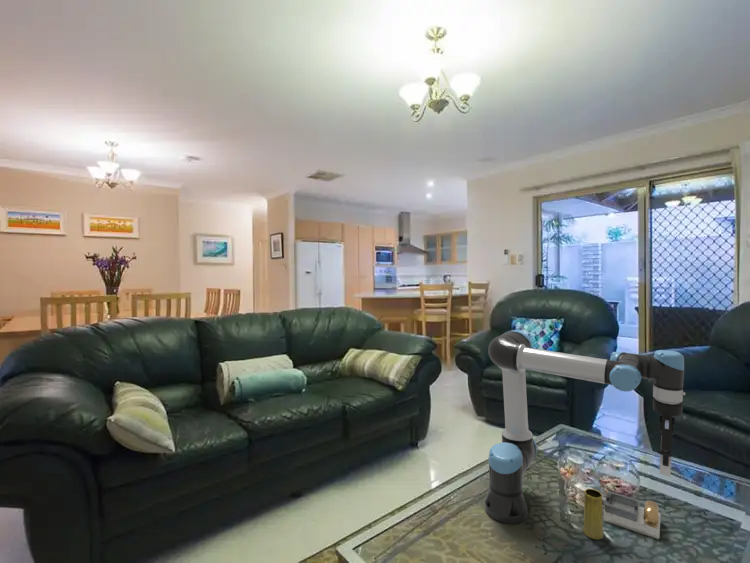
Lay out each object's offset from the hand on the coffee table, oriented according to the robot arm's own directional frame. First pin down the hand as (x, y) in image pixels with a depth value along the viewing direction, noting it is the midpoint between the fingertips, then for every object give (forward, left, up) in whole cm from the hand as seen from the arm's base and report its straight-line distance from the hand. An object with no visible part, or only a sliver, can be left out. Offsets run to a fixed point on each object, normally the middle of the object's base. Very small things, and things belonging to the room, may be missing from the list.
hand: (665, 464), depth 126 cm
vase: (-19, -8, -27) cm, 34 cm away
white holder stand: (-9, +6, -27) cm, 29 cm away
